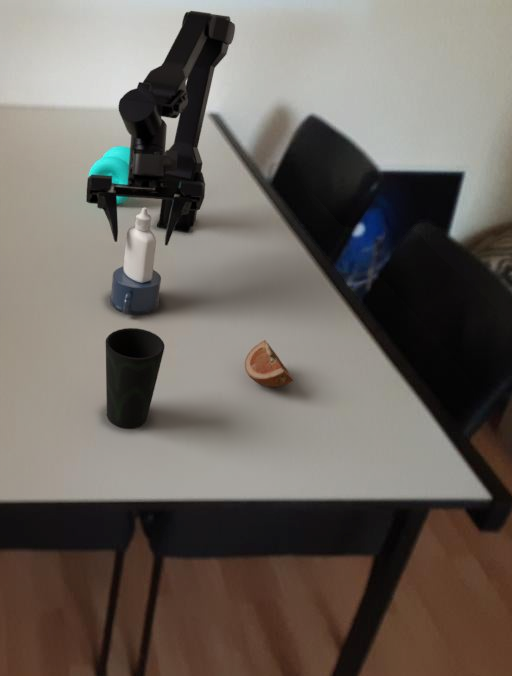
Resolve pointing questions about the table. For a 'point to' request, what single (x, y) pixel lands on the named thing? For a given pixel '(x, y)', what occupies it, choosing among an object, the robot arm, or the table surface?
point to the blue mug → (134, 293)
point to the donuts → (114, 167)
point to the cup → (131, 375)
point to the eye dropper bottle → (140, 249)
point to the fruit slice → (266, 366)
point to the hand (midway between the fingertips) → (141, 242)
